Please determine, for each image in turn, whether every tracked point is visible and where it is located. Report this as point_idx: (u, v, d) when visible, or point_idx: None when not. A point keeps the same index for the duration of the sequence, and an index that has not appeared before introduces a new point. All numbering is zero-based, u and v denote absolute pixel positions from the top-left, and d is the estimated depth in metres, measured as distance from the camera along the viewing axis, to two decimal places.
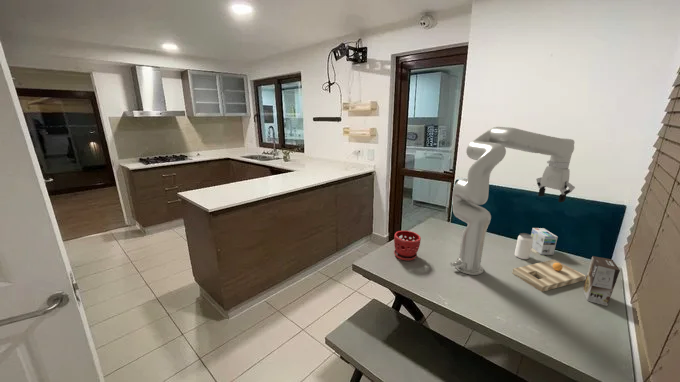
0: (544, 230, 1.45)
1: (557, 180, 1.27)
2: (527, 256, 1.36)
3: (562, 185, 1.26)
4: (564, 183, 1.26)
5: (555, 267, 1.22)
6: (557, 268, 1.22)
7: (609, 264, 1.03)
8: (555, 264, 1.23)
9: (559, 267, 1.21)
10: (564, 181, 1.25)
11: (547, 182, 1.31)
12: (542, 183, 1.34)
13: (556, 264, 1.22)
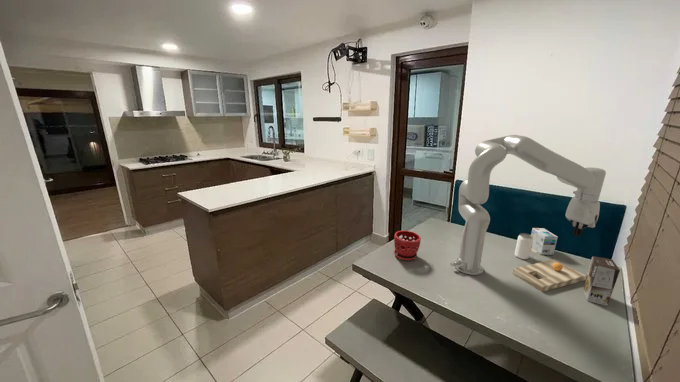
0: (544, 230, 1.45)
1: (585, 214, 1.14)
2: (527, 256, 1.36)
3: (591, 220, 1.13)
4: (594, 218, 1.12)
5: (555, 267, 1.22)
6: (557, 268, 1.22)
7: (609, 264, 1.03)
8: (555, 264, 1.23)
9: (559, 267, 1.21)
10: (594, 215, 1.12)
11: (573, 215, 1.18)
12: (567, 215, 1.21)
13: (556, 264, 1.22)
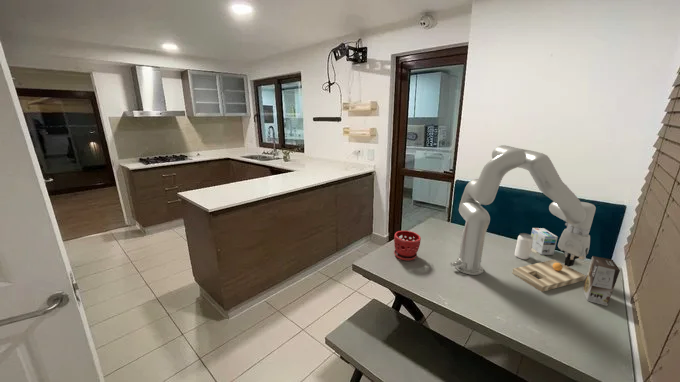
0: (544, 230, 1.45)
1: (576, 246, 1.18)
2: (527, 256, 1.36)
3: (582, 252, 1.17)
4: (584, 250, 1.17)
5: (555, 267, 1.22)
6: (557, 268, 1.22)
7: (609, 264, 1.03)
8: (555, 264, 1.23)
9: (559, 267, 1.21)
10: (584, 248, 1.17)
11: (565, 246, 1.23)
12: (559, 246, 1.25)
13: (556, 264, 1.22)
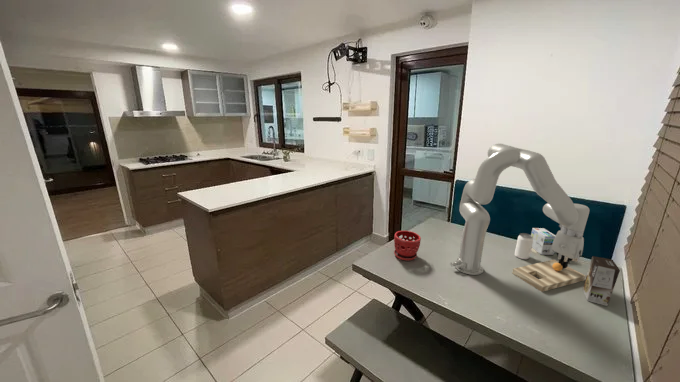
0: (544, 230, 1.45)
1: (570, 248, 1.18)
2: (527, 256, 1.36)
3: (576, 255, 1.16)
4: (578, 253, 1.16)
5: (555, 267, 1.22)
6: (557, 268, 1.22)
7: (609, 264, 1.03)
8: (555, 264, 1.23)
9: (559, 267, 1.21)
10: (578, 251, 1.16)
11: (559, 248, 1.22)
12: (553, 248, 1.24)
13: (556, 264, 1.22)
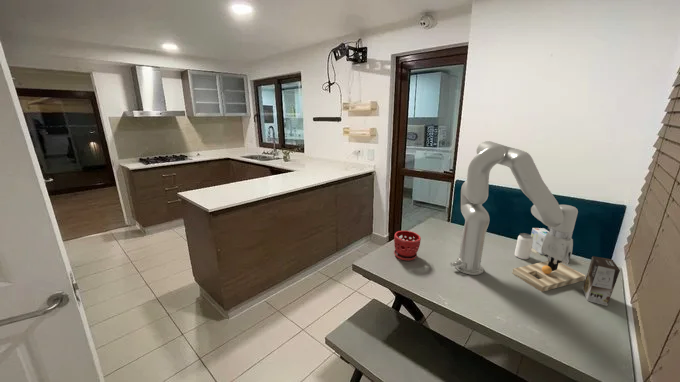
0: (544, 230, 1.45)
1: (559, 250, 1.15)
2: (527, 256, 1.36)
3: (565, 257, 1.14)
4: (567, 255, 1.14)
5: None
6: None
7: (609, 264, 1.03)
8: None
9: (549, 273, 1.20)
10: (567, 253, 1.14)
11: (548, 250, 1.20)
12: (543, 250, 1.22)
13: None
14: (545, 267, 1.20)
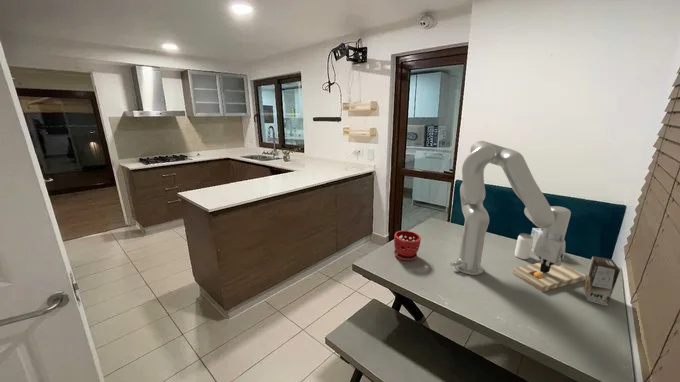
0: None
1: (551, 252, 1.14)
2: (527, 256, 1.36)
3: (557, 259, 1.13)
4: (559, 257, 1.13)
5: None
6: (541, 274, 1.19)
7: (609, 264, 1.03)
8: None
9: None
10: (559, 255, 1.13)
11: (541, 252, 1.19)
12: (535, 252, 1.21)
13: None
14: None
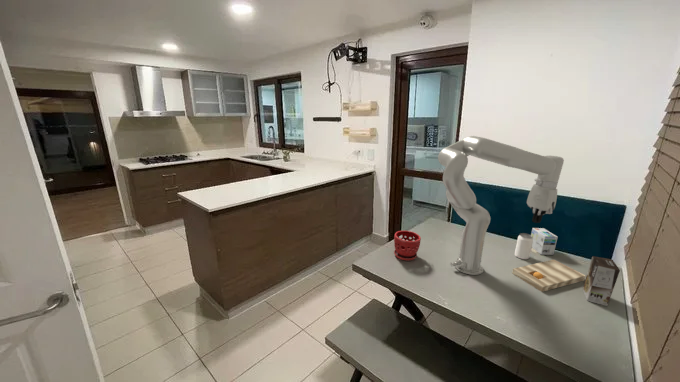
0: (544, 230, 1.45)
1: (543, 200, 1.17)
2: (527, 256, 1.36)
3: (548, 206, 1.16)
4: (550, 204, 1.16)
5: (539, 272, 1.20)
6: (540, 274, 1.19)
7: (609, 264, 1.03)
8: None
9: (542, 275, 1.19)
10: (551, 202, 1.16)
11: (533, 202, 1.22)
12: (528, 202, 1.24)
13: None
14: None
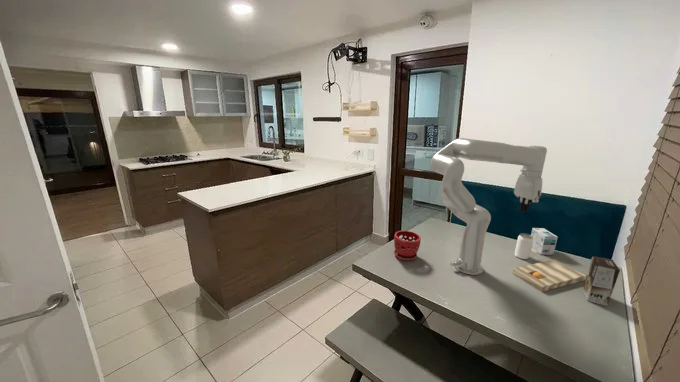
0: (544, 230, 1.45)
1: (529, 189, 1.21)
2: (527, 256, 1.36)
3: (534, 195, 1.20)
4: (536, 193, 1.20)
5: (538, 273, 1.20)
6: (539, 274, 1.19)
7: (609, 264, 1.03)
8: None
9: (541, 275, 1.19)
10: (536, 191, 1.19)
11: (520, 191, 1.25)
12: (515, 192, 1.28)
13: None
14: None
